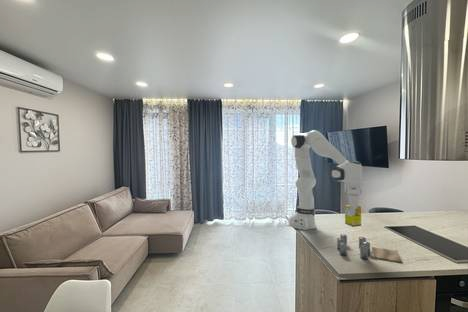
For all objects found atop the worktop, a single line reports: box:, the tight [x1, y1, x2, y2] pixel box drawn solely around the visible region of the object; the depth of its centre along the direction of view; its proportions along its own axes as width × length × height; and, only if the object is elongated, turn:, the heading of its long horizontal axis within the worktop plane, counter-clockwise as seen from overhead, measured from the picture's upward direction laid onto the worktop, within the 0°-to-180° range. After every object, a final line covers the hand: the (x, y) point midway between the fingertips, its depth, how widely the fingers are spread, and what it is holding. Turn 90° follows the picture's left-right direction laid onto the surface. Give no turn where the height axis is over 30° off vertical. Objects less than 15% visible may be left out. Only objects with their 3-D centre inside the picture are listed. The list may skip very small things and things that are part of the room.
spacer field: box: [336, 233, 371, 261], centre depth 130 cm, size 17×18×6 cm
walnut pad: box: [371, 246, 403, 264], centre depth 124 cm, size 12×14×1 cm
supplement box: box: [344, 204, 362, 228], centre depth 130 cm, size 6×6×11 cm
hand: (352, 213), depth 130 cm, fingers closed on supplement box, 8 cm apart
